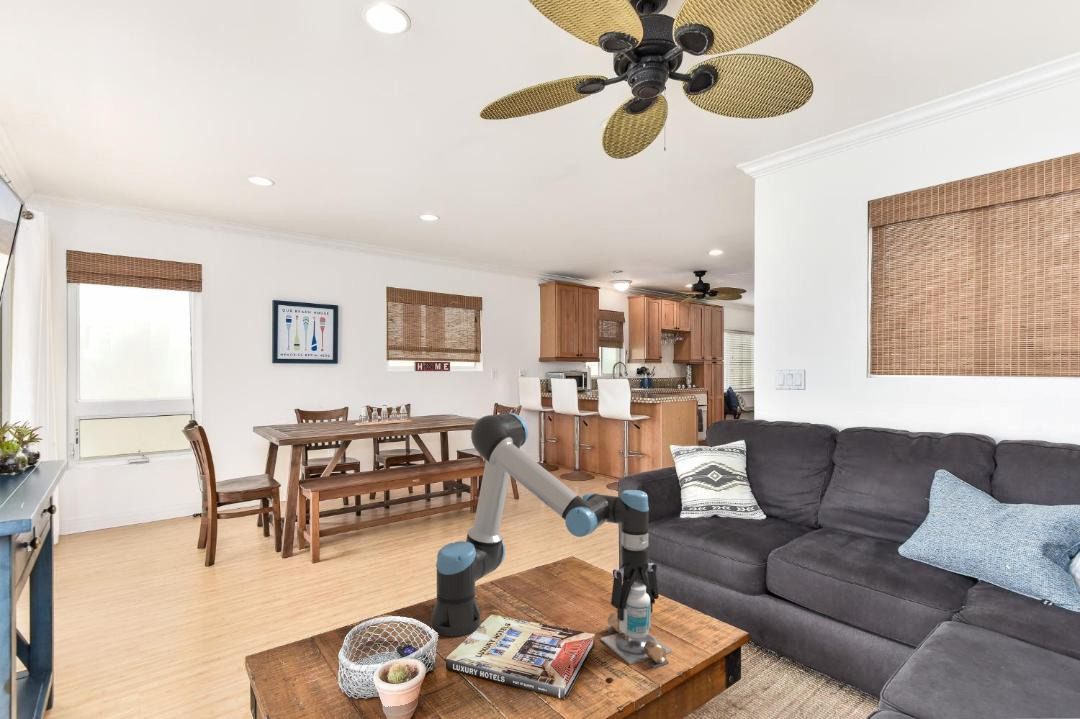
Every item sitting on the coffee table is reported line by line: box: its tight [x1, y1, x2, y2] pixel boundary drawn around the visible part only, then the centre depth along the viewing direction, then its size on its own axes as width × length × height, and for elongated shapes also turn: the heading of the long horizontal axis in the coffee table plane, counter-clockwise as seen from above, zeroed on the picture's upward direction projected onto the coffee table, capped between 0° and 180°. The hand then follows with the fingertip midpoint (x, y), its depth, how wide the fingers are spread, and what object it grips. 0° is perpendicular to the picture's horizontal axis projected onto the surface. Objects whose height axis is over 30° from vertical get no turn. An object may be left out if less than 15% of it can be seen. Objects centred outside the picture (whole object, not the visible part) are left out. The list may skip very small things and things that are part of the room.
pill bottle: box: [625, 581, 650, 639], centre depth 147 cm, size 8×7×14 cm
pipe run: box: [600, 612, 672, 669], centre depth 147 cm, size 22×14×5 cm, turn 26°
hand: (635, 627), depth 147 cm, fingers closed on pill bottle, 7 cm apart
